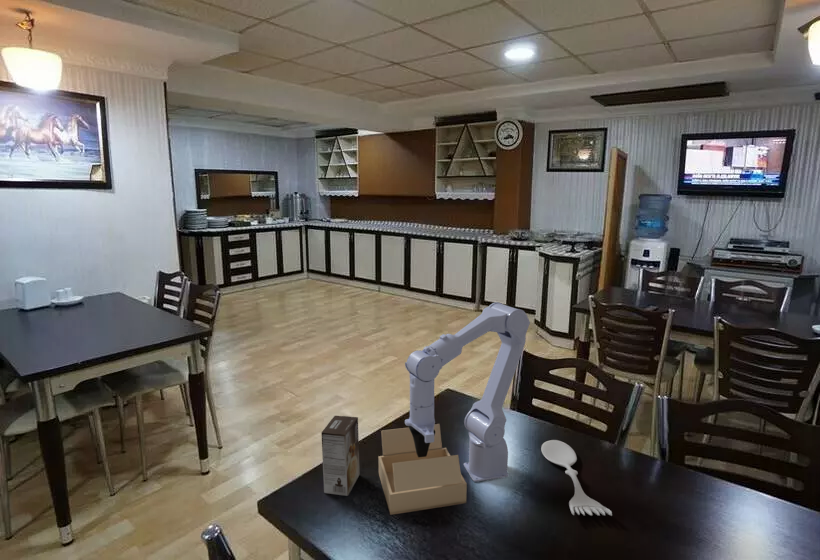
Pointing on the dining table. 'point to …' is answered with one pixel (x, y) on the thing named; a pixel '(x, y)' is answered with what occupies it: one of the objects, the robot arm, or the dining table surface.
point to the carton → (418, 497)
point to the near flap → (426, 473)
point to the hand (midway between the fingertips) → (421, 455)
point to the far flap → (405, 440)
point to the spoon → (566, 458)
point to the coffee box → (340, 455)
